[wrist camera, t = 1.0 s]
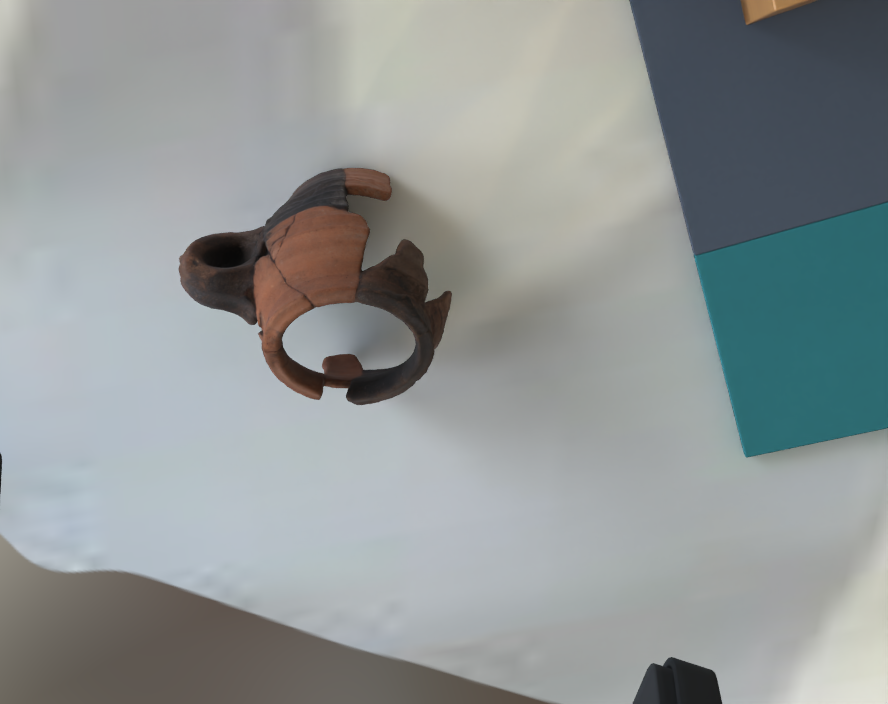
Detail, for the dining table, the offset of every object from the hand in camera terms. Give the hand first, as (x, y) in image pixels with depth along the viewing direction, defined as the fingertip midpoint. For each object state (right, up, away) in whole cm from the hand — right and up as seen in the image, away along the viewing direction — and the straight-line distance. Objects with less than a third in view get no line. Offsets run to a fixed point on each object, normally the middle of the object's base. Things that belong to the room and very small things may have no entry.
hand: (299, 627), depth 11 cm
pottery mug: (-3, +8, +28) cm, 29 cm away
